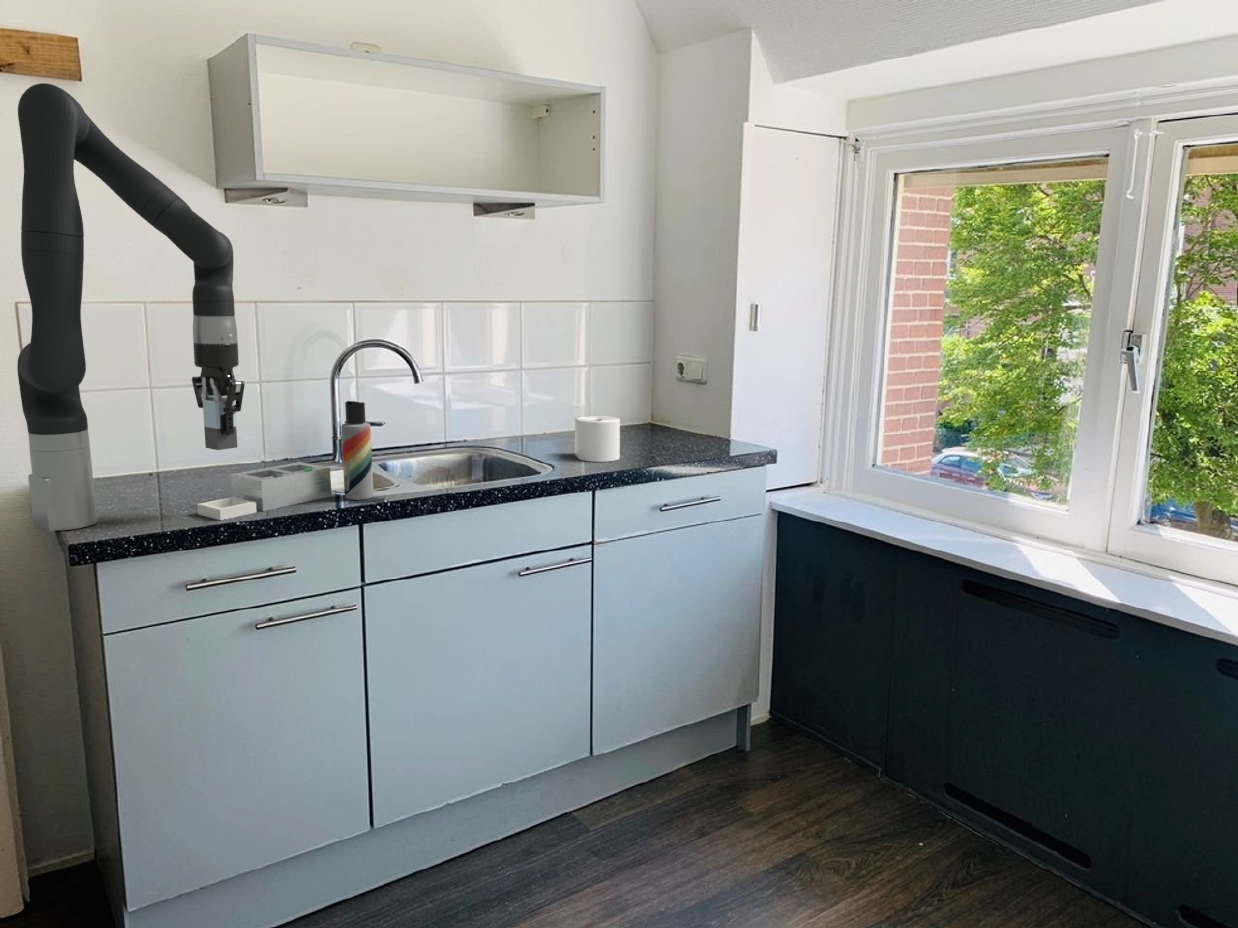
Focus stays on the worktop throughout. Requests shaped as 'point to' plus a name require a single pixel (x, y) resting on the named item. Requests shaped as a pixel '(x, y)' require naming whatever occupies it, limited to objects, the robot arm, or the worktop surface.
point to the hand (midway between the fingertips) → (220, 432)
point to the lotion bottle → (357, 453)
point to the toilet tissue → (597, 438)
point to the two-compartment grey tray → (282, 485)
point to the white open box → (226, 508)
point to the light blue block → (217, 427)
